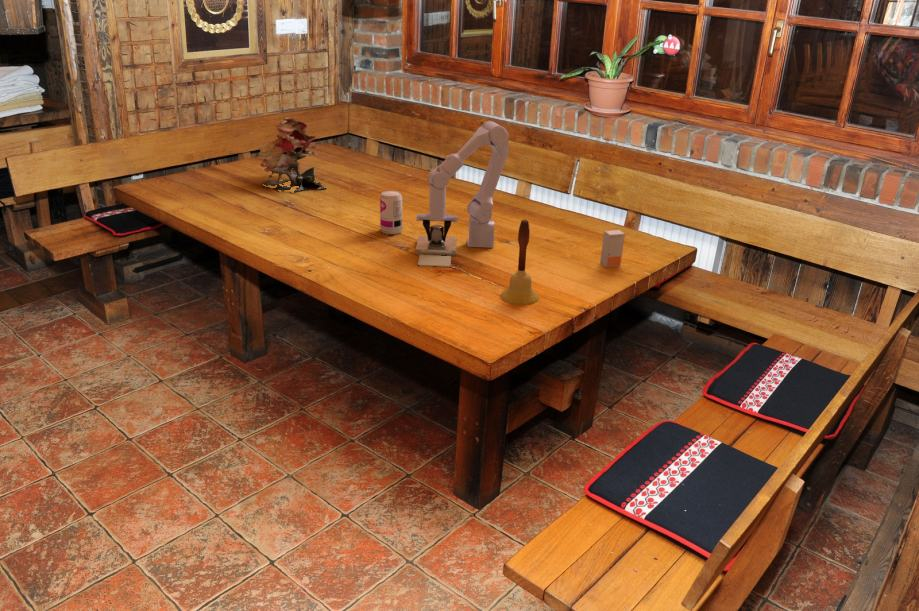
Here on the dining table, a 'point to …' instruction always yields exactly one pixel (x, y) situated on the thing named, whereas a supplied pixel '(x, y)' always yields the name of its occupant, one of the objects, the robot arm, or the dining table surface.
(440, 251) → the housing plate
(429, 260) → the pad
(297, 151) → the rose bouquet
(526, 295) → the handbell
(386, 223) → the supplement can
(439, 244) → the grey metal cylinder
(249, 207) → the dining table surface
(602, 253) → the skincare box
